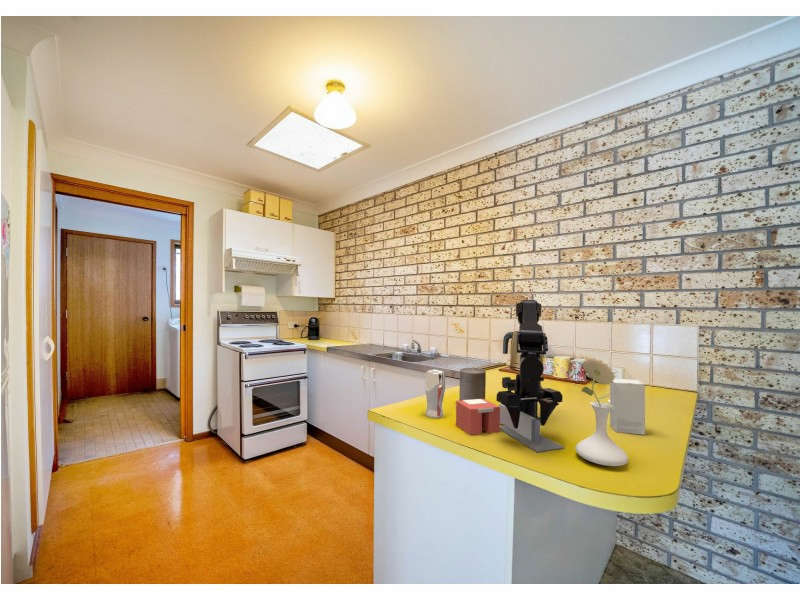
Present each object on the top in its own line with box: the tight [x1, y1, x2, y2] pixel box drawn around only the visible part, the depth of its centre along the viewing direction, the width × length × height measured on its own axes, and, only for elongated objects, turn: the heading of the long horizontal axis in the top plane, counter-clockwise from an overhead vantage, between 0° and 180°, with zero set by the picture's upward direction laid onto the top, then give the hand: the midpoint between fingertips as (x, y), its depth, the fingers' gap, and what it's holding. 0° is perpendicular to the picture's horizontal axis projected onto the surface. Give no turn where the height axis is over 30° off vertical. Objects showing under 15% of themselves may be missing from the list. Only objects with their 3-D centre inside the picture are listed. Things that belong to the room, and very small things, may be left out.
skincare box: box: [609, 377, 646, 436], centre depth 105 cm, size 8×7×16 cm
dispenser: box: [455, 398, 501, 436], centre depth 104 cm, size 10×9×8 cm
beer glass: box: [424, 369, 446, 419], centre depth 116 cm, size 7×7×15 cm
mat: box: [500, 425, 566, 453], centre depth 97 cm, size 9×18×1 cm, turn 18°
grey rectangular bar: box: [498, 402, 541, 443], centre depth 101 cm, size 2×17×6 cm, turn 18°
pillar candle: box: [458, 366, 487, 401], centre depth 127 cm, size 10×10×15 cm
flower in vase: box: [574, 357, 629, 467], centre depth 85 cm, size 13×11×25 cm
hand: (529, 426), depth 96 cm, fingers open, 9 cm apart
